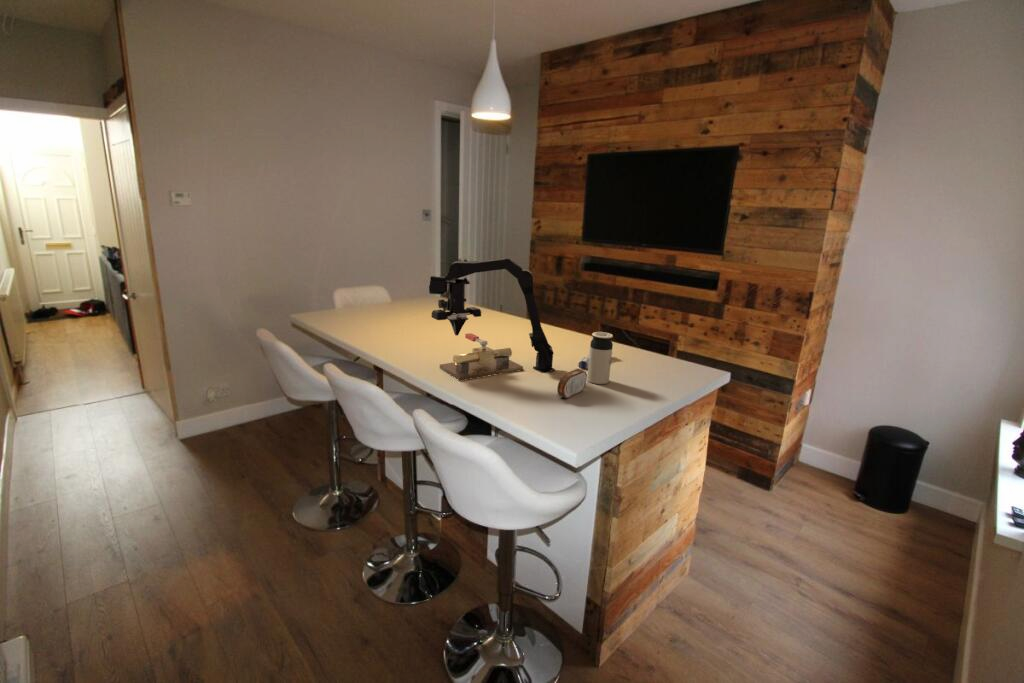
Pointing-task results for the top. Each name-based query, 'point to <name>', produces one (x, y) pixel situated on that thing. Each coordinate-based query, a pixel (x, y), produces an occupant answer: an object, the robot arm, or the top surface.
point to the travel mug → (600, 358)
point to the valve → (481, 363)
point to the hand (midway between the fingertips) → (456, 335)
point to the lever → (475, 338)
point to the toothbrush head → (584, 363)
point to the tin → (572, 383)
